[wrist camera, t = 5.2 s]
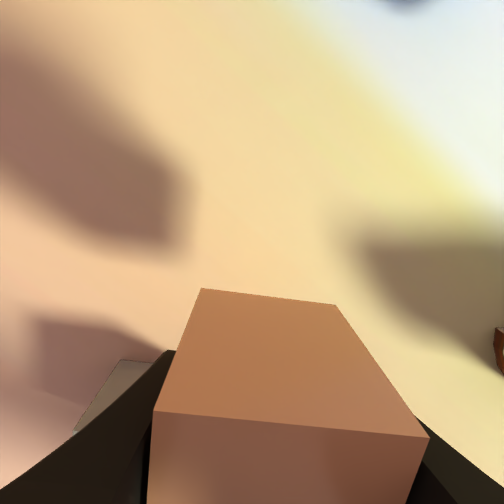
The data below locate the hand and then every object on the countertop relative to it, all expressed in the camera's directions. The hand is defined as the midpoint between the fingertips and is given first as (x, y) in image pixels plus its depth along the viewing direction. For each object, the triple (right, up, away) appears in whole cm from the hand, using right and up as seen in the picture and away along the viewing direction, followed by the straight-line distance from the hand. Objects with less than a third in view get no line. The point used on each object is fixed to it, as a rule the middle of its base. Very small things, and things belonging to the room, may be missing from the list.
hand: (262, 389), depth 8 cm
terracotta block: (0, 0, +2) cm, 2 cm away
